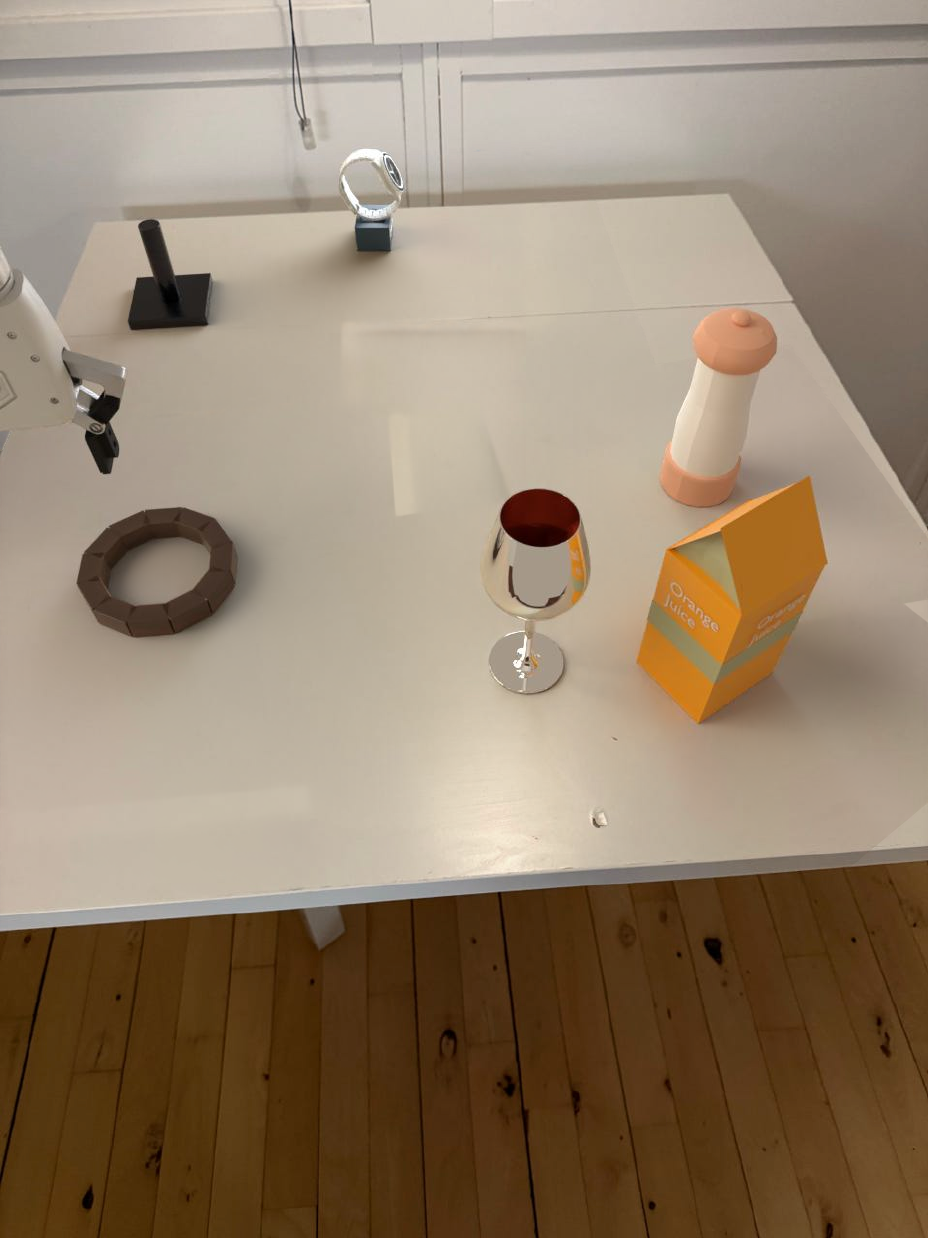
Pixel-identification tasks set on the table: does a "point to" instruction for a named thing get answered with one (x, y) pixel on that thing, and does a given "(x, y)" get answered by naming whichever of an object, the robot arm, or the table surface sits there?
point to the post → (167, 289)
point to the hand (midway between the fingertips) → (47, 467)
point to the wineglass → (534, 582)
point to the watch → (373, 219)
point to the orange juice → (733, 599)
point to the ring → (176, 611)
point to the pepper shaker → (717, 407)
